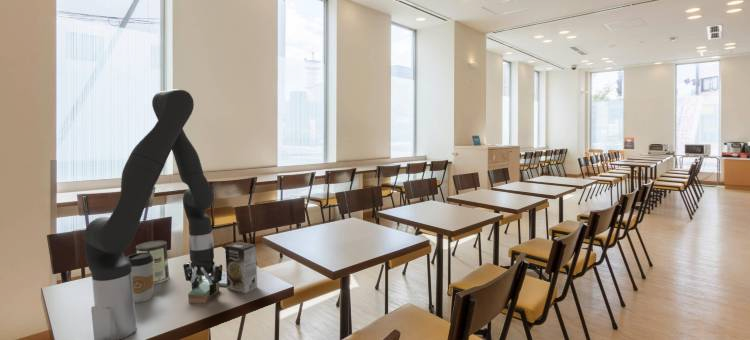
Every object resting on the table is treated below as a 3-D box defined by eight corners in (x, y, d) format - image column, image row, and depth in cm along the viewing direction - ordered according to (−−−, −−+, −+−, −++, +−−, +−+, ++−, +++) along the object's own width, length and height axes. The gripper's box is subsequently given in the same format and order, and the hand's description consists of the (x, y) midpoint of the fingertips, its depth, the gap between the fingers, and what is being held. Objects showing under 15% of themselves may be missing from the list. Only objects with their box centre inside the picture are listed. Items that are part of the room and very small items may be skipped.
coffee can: (153, 273, 157) (151, 239, 156) (175, 276, 155) (172, 241, 153) (132, 283, 147) (129, 247, 146) (154, 286, 145) (152, 249, 143)
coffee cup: (124, 305, 129) (120, 261, 128) (132, 295, 137) (128, 253, 136) (152, 301, 132) (149, 258, 130) (158, 292, 140) (155, 251, 138)
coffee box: (226, 289, 141) (224, 245, 140) (240, 282, 147) (238, 240, 145) (244, 293, 137) (242, 248, 135) (258, 287, 143) (256, 243, 141)
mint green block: (204, 303, 130) (204, 293, 130) (188, 302, 131) (188, 293, 131) (219, 290, 140) (218, 281, 140) (204, 290, 141) (203, 281, 140)
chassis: (228, 286, 143) (228, 273, 143) (195, 283, 147) (194, 270, 146) (245, 275, 154) (245, 262, 154) (214, 273, 157) (213, 260, 157)
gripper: (175, 248, 132) (178, 296, 134) (213, 250, 128) (216, 299, 130) (190, 241, 139) (193, 287, 141) (226, 244, 136) (229, 290, 137)
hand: (204, 293), depth 136 cm, fingers closed on mint green block, 6 cm apart
